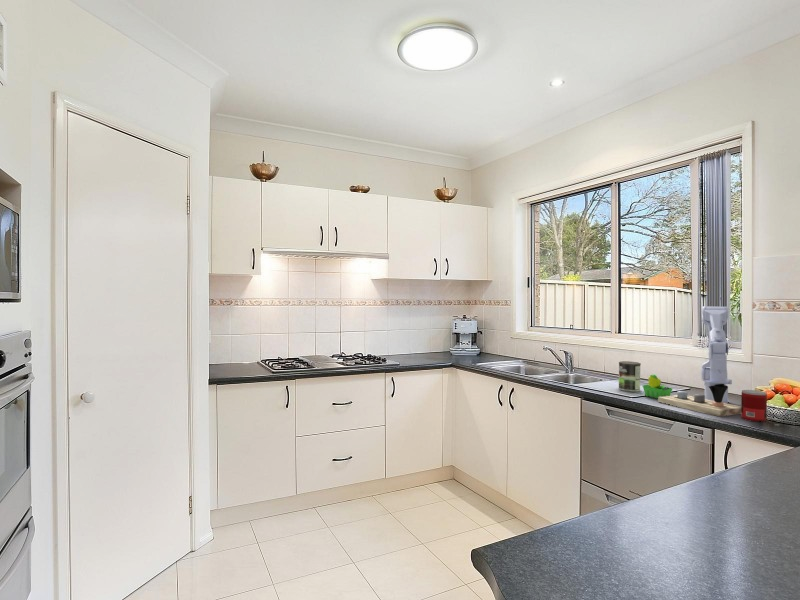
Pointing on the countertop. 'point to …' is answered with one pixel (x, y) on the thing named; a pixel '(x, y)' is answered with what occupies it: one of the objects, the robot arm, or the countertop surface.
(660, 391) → the fruit basket
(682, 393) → the button slate
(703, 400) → the button charcoal
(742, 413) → the canned food
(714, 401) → the button terracotta
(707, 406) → the panel
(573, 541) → the countertop surface
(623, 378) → the coffee can
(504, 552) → the countertop surface
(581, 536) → the countertop surface
